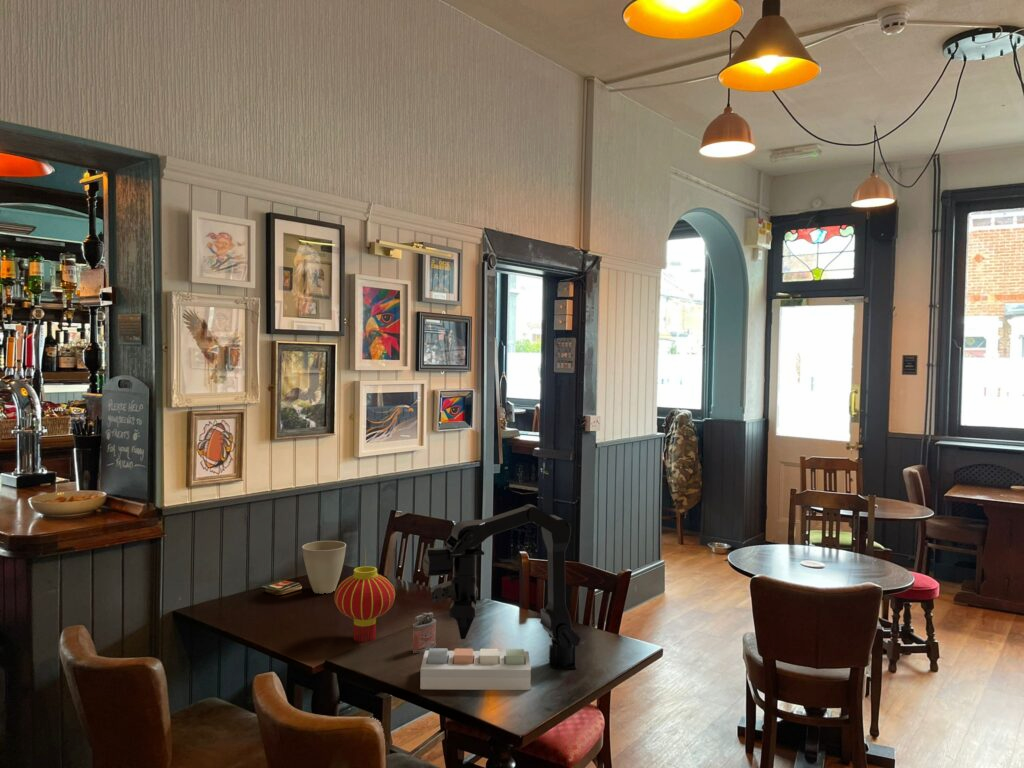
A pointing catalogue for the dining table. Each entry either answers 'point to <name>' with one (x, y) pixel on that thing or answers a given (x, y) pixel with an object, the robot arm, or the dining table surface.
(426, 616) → the lighter
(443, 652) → the key slate
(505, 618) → the dining table surface
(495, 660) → the key cream
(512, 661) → the key sage
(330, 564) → the plant pot
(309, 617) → the dining table surface
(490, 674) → the keypad
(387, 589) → the lantern
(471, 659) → the key terracotta
